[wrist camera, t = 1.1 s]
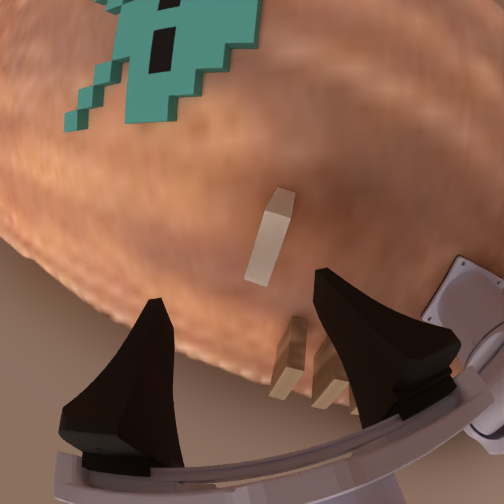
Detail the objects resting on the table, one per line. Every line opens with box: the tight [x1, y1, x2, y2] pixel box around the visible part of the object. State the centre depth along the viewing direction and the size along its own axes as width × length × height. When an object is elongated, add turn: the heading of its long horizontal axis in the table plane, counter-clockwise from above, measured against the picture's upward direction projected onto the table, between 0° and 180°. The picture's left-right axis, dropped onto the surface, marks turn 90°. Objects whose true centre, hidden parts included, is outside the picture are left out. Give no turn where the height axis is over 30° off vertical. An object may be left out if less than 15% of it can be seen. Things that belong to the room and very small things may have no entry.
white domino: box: [244, 187, 296, 287], centre depth 20 cm, size 2×5×7 cm, turn 166°
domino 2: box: [311, 336, 349, 409], centre depth 25 cm, size 2×5×7 cm, turn 166°
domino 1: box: [269, 316, 307, 400], centre depth 25 cm, size 2×5×7 cm, turn 166°
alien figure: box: [64, 0, 262, 133], centre depth 17 cm, size 20×2×20 cm
